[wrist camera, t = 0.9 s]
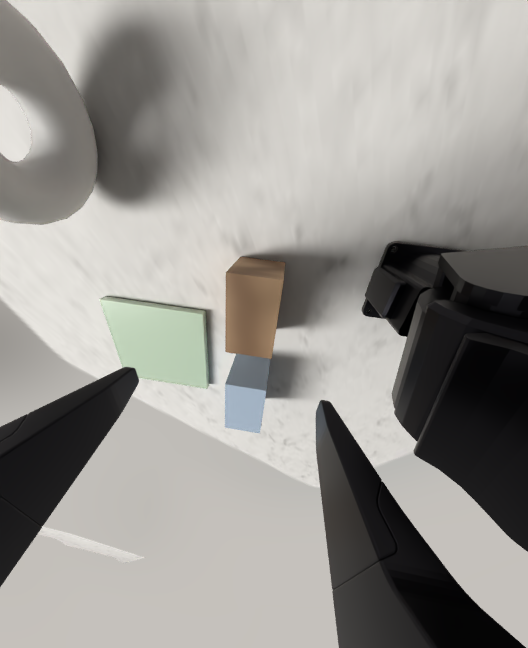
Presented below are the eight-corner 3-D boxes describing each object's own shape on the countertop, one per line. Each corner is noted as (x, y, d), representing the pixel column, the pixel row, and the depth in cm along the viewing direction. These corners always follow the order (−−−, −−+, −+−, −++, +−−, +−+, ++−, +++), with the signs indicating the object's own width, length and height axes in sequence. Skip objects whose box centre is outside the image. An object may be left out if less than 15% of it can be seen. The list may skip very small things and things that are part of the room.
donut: (114, 225, 18) (-43, 245, 10) (75, 211, 18) (-123, 218, 9) (105, 61, 13) (-252, -213, 4) (50, 37, 13) (-439, -299, 4)
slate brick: (270, 357, 24) (266, 390, 20) (264, 397, 27) (259, 433, 23) (237, 352, 24) (225, 384, 20) (235, 392, 28) (225, 427, 23)
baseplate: (205, 310, 21) (202, 314, 21) (209, 384, 27) (207, 388, 26) (105, 296, 22) (99, 299, 21) (129, 371, 28) (125, 375, 27)
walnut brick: (285, 262, 18) (283, 280, 14) (275, 328, 22) (271, 358, 18) (241, 256, 18) (226, 272, 14) (238, 323, 22) (225, 352, 18)
